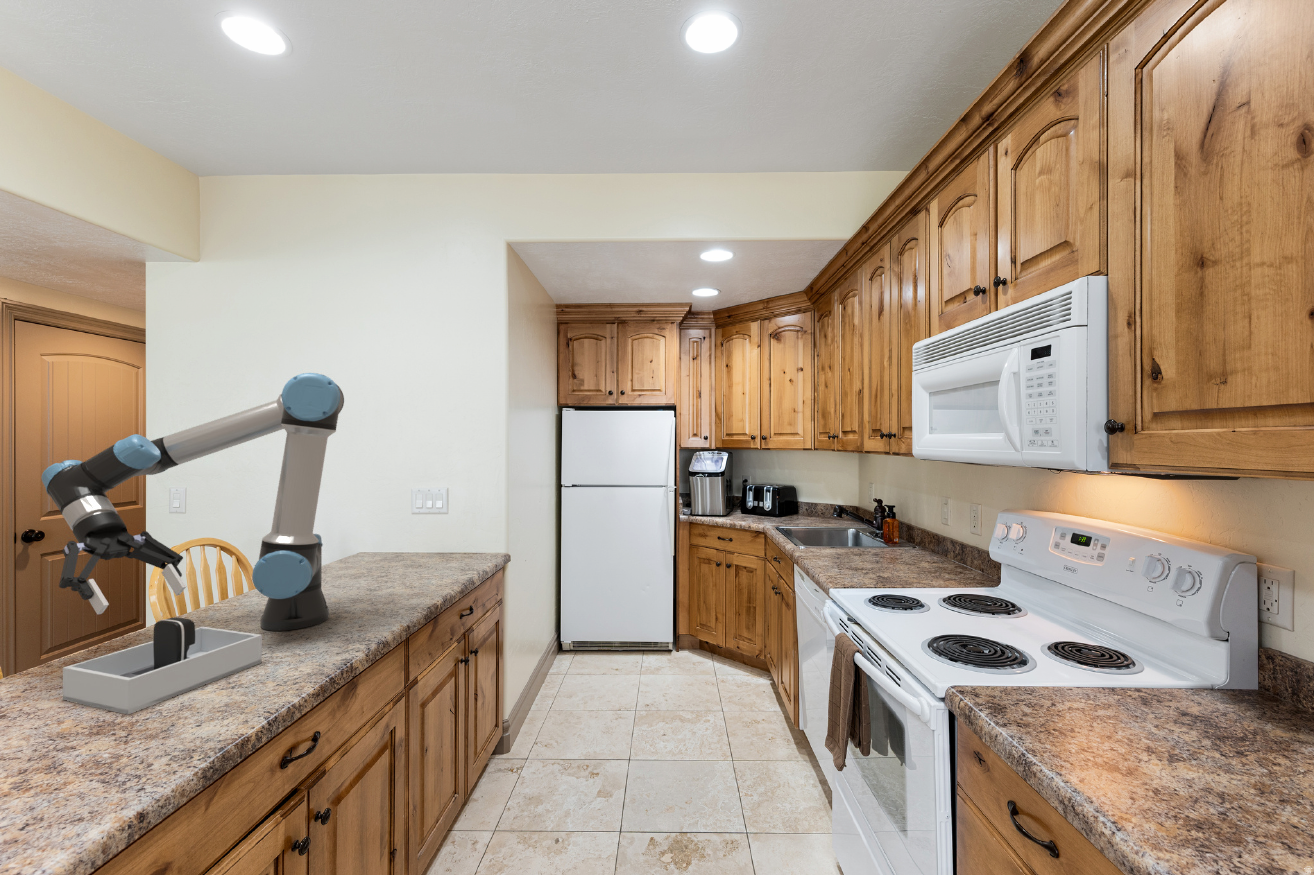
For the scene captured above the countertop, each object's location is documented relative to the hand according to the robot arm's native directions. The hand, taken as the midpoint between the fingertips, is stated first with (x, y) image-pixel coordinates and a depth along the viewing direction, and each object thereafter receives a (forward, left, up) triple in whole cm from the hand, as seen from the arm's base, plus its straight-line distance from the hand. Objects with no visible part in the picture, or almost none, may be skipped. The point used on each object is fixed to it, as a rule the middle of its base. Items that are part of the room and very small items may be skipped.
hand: (144, 600), depth 114 cm
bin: (0, +7, -15) cm, 17 cm away
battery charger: (-1, +8, -15) cm, 17 cm away
